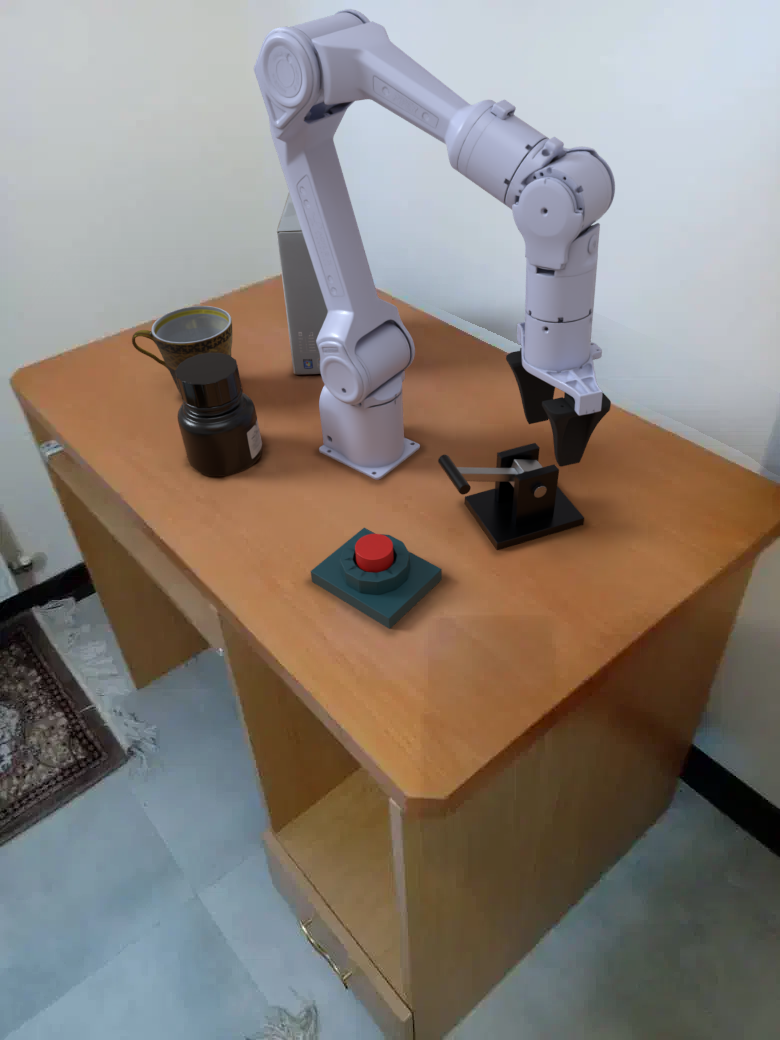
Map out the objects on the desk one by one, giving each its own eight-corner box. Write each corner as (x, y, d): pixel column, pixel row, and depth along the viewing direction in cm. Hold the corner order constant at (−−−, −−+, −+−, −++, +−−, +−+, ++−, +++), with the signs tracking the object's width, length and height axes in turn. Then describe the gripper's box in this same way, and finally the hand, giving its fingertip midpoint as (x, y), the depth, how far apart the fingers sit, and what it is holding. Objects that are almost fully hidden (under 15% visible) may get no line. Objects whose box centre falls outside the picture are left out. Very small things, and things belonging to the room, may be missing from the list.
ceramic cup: (248, 370, 109) (235, 303, 103) (240, 410, 102) (226, 341, 95) (154, 375, 109) (136, 308, 103) (139, 416, 102) (118, 346, 95)
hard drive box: (349, 375, 107) (336, 229, 94) (293, 377, 107) (273, 232, 94) (354, 321, 119) (344, 184, 106) (304, 322, 119) (287, 186, 106)
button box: (312, 583, 78) (308, 557, 76) (365, 539, 83) (363, 513, 80) (389, 630, 73) (388, 605, 71) (441, 581, 78) (441, 555, 75)
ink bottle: (277, 462, 93) (262, 373, 85) (208, 490, 90) (185, 400, 82) (242, 424, 99) (225, 338, 91) (176, 449, 96) (152, 362, 88)
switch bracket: (496, 552, 80) (500, 496, 75) (464, 505, 86) (465, 451, 81) (583, 526, 83) (592, 471, 78) (546, 482, 88) (552, 428, 83)
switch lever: (455, 499, 76) (463, 479, 74) (434, 469, 79) (441, 449, 78) (545, 499, 80) (554, 480, 79) (521, 470, 84) (529, 451, 82)
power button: (348, 562, 76) (347, 548, 74) (373, 541, 78) (371, 528, 76) (377, 578, 74) (376, 565, 73) (401, 557, 76) (400, 543, 75)
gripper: (643, 335, 62) (625, 474, 71) (568, 269, 73) (561, 396, 82) (559, 352, 61) (551, 490, 70) (496, 282, 72) (496, 409, 81)
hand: (552, 440), depth 76 cm, fingers open, 7 cm apart
